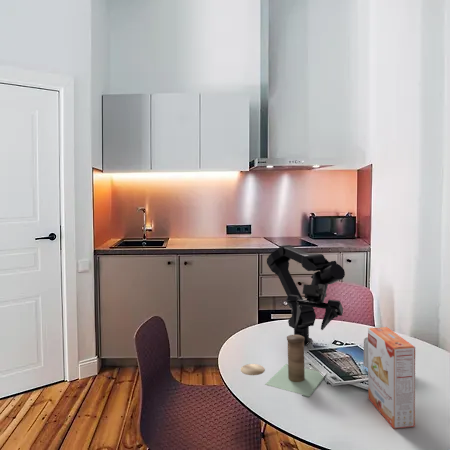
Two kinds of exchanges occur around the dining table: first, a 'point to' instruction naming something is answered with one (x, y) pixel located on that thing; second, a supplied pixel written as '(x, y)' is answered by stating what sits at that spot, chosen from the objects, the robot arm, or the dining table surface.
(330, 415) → the dining table surface
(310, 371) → the mat
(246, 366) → the coaster
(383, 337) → the cracker box
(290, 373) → the canister
